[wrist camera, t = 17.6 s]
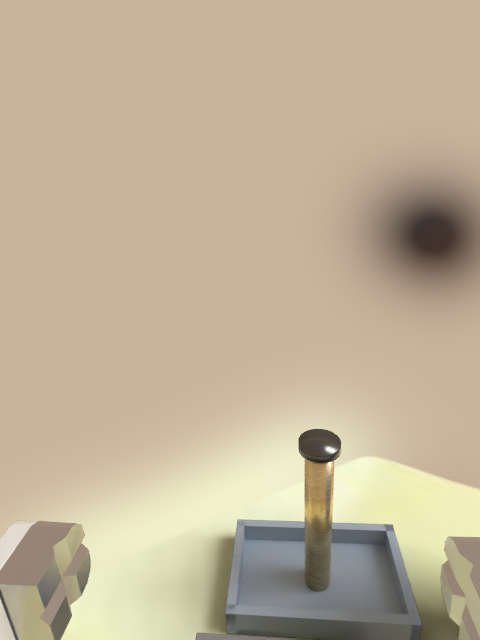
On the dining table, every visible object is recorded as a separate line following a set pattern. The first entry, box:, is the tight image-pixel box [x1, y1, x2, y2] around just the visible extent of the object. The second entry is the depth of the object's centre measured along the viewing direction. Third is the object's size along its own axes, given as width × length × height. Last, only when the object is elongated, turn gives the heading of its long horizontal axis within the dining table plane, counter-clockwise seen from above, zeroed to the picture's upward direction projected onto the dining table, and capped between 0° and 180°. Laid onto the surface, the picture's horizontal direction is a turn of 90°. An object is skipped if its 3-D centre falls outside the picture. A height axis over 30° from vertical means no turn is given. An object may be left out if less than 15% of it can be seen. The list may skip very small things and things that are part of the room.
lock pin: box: [299, 429, 341, 592], centre depth 37 cm, size 3×3×16 cm
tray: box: [225, 520, 422, 640], centre depth 40 cm, size 16×10×2 cm, turn 84°
